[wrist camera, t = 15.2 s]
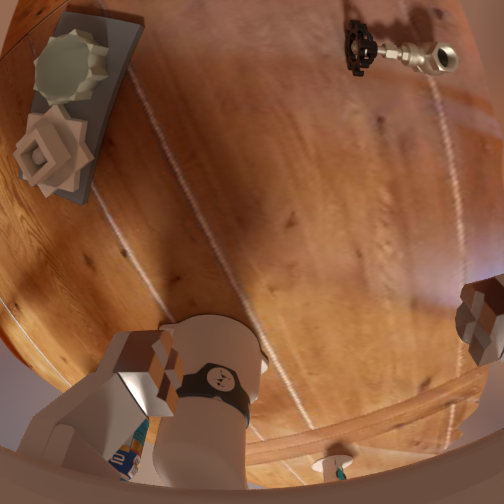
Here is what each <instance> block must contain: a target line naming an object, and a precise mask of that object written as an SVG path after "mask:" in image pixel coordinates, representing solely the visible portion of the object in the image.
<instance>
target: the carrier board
mask: <svg viewBox="0 0 504 504" xmlns="http://www.w3.org/2000/svg"><path fill="white" fill-rule="evenodd" d="M143 30H144V26H142V25H140V24H135V23H131V22H126V21H121V20H116V19H111V18H106V17H100V16H94V15H88V14H81V13H73V12H65V11H63V13H62V15H61V18H60V20H59V23H58V25H57V28H56V30H55V33H54V35H53V37H50V38H49V41H48V44H47V46H46V47H45V48H44V49H43V51H42V52H41V54H40V56H39V57H38V58H37V59H36V60H34V61H33V62H34V65H35V68H36V69H35V84H34V88H33V90H36V91H35V94H34V98H33V102H32V106H31V110H30V113H42V114H45V113H46V112H47V111H48V110H49V109H50V108H51V107H52V106H53V105H59V104H64V106H65V108H66V110H67V112H68V113H69V115H70V117H71V118H74V119H80V120H85V121H88V124H87V129H86V135H85V143H86V145H87V147H88V148H89V150H90V152H91V153H92V155H93V157H94V158H95V159H93V160H92V161H91V162H90V163H88V164H87V165H86V166H85V167H83V168H82V169H81V171H80V180H79V189H78V190H76V191H74V192H70V191H66V190H62V189H59V188H58V189H57V190H56V191H55V192H54V194H56V195H59V196H61V197H63V198H66V199H68V200H70V201H73V202H75V203H77V204H80V205H83V204H85V203H86V202H87V200H88V195H89V191H90V186H91V182H92V178H93V174H94V170H95V166H96V162H97V158H98V154H99V151H100V147H101V144H102V140H103V137H104V133H105V130H106V127H107V123H108V120H109V117H110V114H111V111H112V108H113V105H114V102H115V99H116V96H117V93H118V91H119V88H120V85H121V83H122V80H123V77H124V75H125V72H126V69H127V67H128V64H129V62H130V59H131V57H132V55H133V52H134V50H135V48H136V45H137V43H138V41H139V38H140V36H141V34H142V32H143ZM25 134H26V133H25ZM32 158H33V161H34V163H35V164H37V165H40V164H42V163H44V162H47V159H46V158H45V156H44V154H43V152H42V151H41V149H40V148H37V149H35V150H34V152H33V154H32ZM18 178H20V179H22V180H24V181H27V180H25V179H23V172H22V170H21V168H20V170H19V177H18ZM27 182H28V181H27ZM36 186H38V185H36ZM38 187H39V186H38Z"/></svg>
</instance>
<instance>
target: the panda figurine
mask: <svg viewBox="0 0 504 504" xmlns="http://www.w3.org/2000/svg"><path fill="white" fill-rule="evenodd" d="M352 461H353V459H352V457H351V456H348V455H333V456H328V457H324V458H322V459H319V460H317V461H316V462H314V463H313V464H312V469H313V470H315V471H318V472H323V476H324V482H323V483H327V482H334V481H340V480H345V479H346V476H345V474H344V473H343V468H345V467H347V466H349V465H350V464H351V463H352ZM344 478H345V479H344Z"/></svg>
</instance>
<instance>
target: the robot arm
mask: <svg viewBox="0 0 504 504" xmlns="http://www.w3.org/2000/svg"><path fill="white" fill-rule="evenodd" d="M460 298H461V300H462V301H463V302H462V304H461V305H460V306H459V308H458V309H457V313H456V317H455V322H456V330H457V332H458V335H459V337H460V338H461V340H462V341H464V342H466V343H468V344H469V350H468V351H469V353H470V354H471V356H472V358H473V359H474V361H475V363H476V364H477V366H478V367H479V366H482V365H485V364H488V363H491V362H494V361H497V360H499V359H500V361H501V362H503V363H504V274H501V275H497V276H494V277H491V278H488V279H484V280H480V281H477V282H473V283H469V284H465V285H464V287H463V288H462V291H461V295H460ZM268 366H269V362H268V360H267V359H266V358H265V357H264V356H263V354H262V353H261V351H260V347H259V343H258V340H257V338H256V337H255V335H254V334H253V332H252V331H251V330H250V329H248V328H247V327H246V326H245V325H243V324H242V323H240V322H238V321H236V320H234V319H231V318H228V317H224V316H219V315H199V316H194V317H191V318H188V319H186V320H184V321H182V322H180V323H177V324H166V325H162V326H160V327H159V330H147V331H126V332H117V333H116V334H114V336H113V338H112V340H111V342H110V344H109V346H108V348H107V350H106V352H105V354H104V356H103V358H102V360H101V362H100V364H99V366H98V368H97V370H96V372H91V373H89V374H88V375H87V376H86V377H84V378H83V379H82V380H80V381H79V382H78V383H76V384H75V385H74V386H72V387H71V388H70V389H69V390H67V391H66V392H65V393H63V394H62V395H61V396H60V397H58V398H57V399H55V400H54V401H53V402H52V403H50V404H49V405H48V406H46V407H45V408H44V409H42V410H41V411H40V412H38V413H37V414H36V415H35V416H33V418H32V420H31V422H30V424H29V426H28V428H27V430H26V432H25V434H24V436H23V438H22V440H21V442H20V445H19V447H18V449H17V451H16V452H15V451H12V450H10V449H7V448H5V447H2V446H0V504H504V428H502V429H500V430H498V431H496V432H494V433H492V434H490V435H487V436H485V437H483V438H481V439H478V440H476V441H474V442H471V443H469V444H466V445H464V446H462V447H459V448H457V449H454V450H452V451H448V452H446V453H443V454H440V455H437V456H434V457H431V458H428V459H425V460H422V461H419V462H416V463H412V464H409V465H406V466H402V467H398V468H395V469H391V470H387V471H383V472H379V473H374V474H370V475H366V476H361V477H356V478H351V479H345V480H340V481H334V482H327V483H320V484H313V485H305V486H296V487H285V488H272V489H252V490H249V489H248V485H247V479H246V469H245V444H246V429H247V427H248V425H249V420H250V416H251V408H250V404H252V403H253V402H254V401H255V400H257V399H258V396H259V389H260V378H261V375H262V374H263V373H264V372H265V371H266V370H267V369H268ZM146 416H161V420H160V424H159V428H158V433H157V437H156V441H155V445H154V450H153V464H154V467H155V470H156V472H157V473H158V475H159V476H160V478H161V479H162V481H163V482H164V484H165V485H166V487H164V486H155V485H147V484H140V483H133V482H127V481H121V480H120V478H121V475H120V473H119V471H118V470H116V469H115V468H114V467H113V466H112V465H111V464H110V463H109V462H108V461H109V459H110V458H111V457H112V456H113V455H114V454H115V453H116V452H117V451H118V449H119V448H120V447H121V446H122V445H123V444H124V443H125V442H126V440H127V439H128V438H129V437H130V436H131V435H132V434H133V433H134V431H135V430H136V429H137V428H138V427H139V426H140V425H141V423H142V422H143V421H144V420H145V419H146Z"/></svg>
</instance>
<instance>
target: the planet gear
mask: <svg viewBox="0 0 504 504" xmlns="http://www.w3.org/2000/svg"><path fill="white" fill-rule="evenodd" d="M87 124H88V121H85V120H80V119H74V118H71V117H70V115H69V113H68V112H67V110H66V108H65V106H64V104H59V105H53V106H52V107H51V108H50V109H49V110H48V111H47V112H46V113H45V114H42V113H30V114H28V120H27V128H26V134H25V135H24V136H23V137H22V138H21V139H20V141H19V142H18V143H17V144H16V147H17V150H16V151H15V152H14V153H13V155H14V157H15V159H16V161H17V163H18V165H19V166H20V168H21V170H22V172H23V179H25V180H27V181H28V182H29V184H30V186H31V187H33V186H35V185H38V186H39V188H40V190H41V191H42V193H43V195H44V196H45V198H47V197H48V196H50V195H52V194H53V193H54V192H55V191H56V190H57V189H58V188H59V189H62V190H66V191H70V192H74V191H76V190H78V189H79V180H80V171H81V169H82V168H83V167H85V166H86V165H87V164H88V163H90V162H91V161H92V160H93V159H95V158H94V157H93V155H92V153H91V152H90V150H89V148H88V147H87V145H86V143H85V135H86V129H87ZM37 148H40V149H41V151H42V152H43V154H44V156H45V158H46V159H47V162H44V163H42V164H40V165H37V164H35V163H34V161H33V158H32V154H33V152H34V150H35V149H37Z"/></svg>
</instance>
